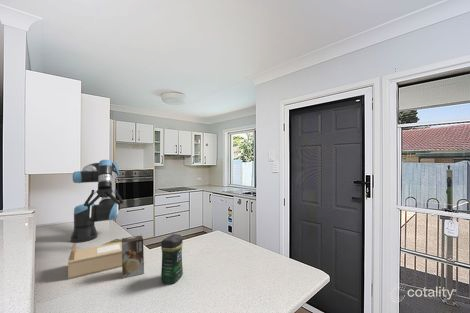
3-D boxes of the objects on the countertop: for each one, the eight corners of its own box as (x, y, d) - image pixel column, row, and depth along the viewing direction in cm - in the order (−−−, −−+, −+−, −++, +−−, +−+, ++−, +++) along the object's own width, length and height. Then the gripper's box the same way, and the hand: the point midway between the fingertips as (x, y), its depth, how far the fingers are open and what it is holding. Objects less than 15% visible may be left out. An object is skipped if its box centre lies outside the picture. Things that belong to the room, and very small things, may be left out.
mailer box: (71, 267, 110) (71, 252, 110) (128, 254, 124) (128, 241, 124) (68, 279, 98) (68, 263, 99) (132, 264, 112) (132, 250, 112)
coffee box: (142, 268, 108) (142, 234, 109) (144, 273, 103) (144, 238, 103) (121, 272, 104) (121, 238, 104) (121, 279, 98) (121, 242, 99)
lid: (71, 252, 111) (71, 242, 111) (128, 241, 124) (128, 233, 125) (68, 263, 98) (68, 252, 98) (132, 250, 112) (132, 240, 112)
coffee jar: (175, 285, 92) (174, 240, 93) (158, 283, 94) (157, 239, 95) (185, 274, 102) (185, 233, 102) (170, 272, 104) (169, 232, 104)
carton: (93, 255, 124) (93, 247, 124) (115, 245, 140) (115, 238, 140) (105, 257, 122) (105, 249, 122) (126, 246, 137) (126, 239, 138)
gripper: (80, 180, 130) (77, 216, 120) (127, 180, 143) (128, 212, 134) (80, 185, 135) (78, 220, 126) (126, 185, 148) (126, 216, 139)
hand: (104, 216), depth 130 cm, fingers open, 13 cm apart
